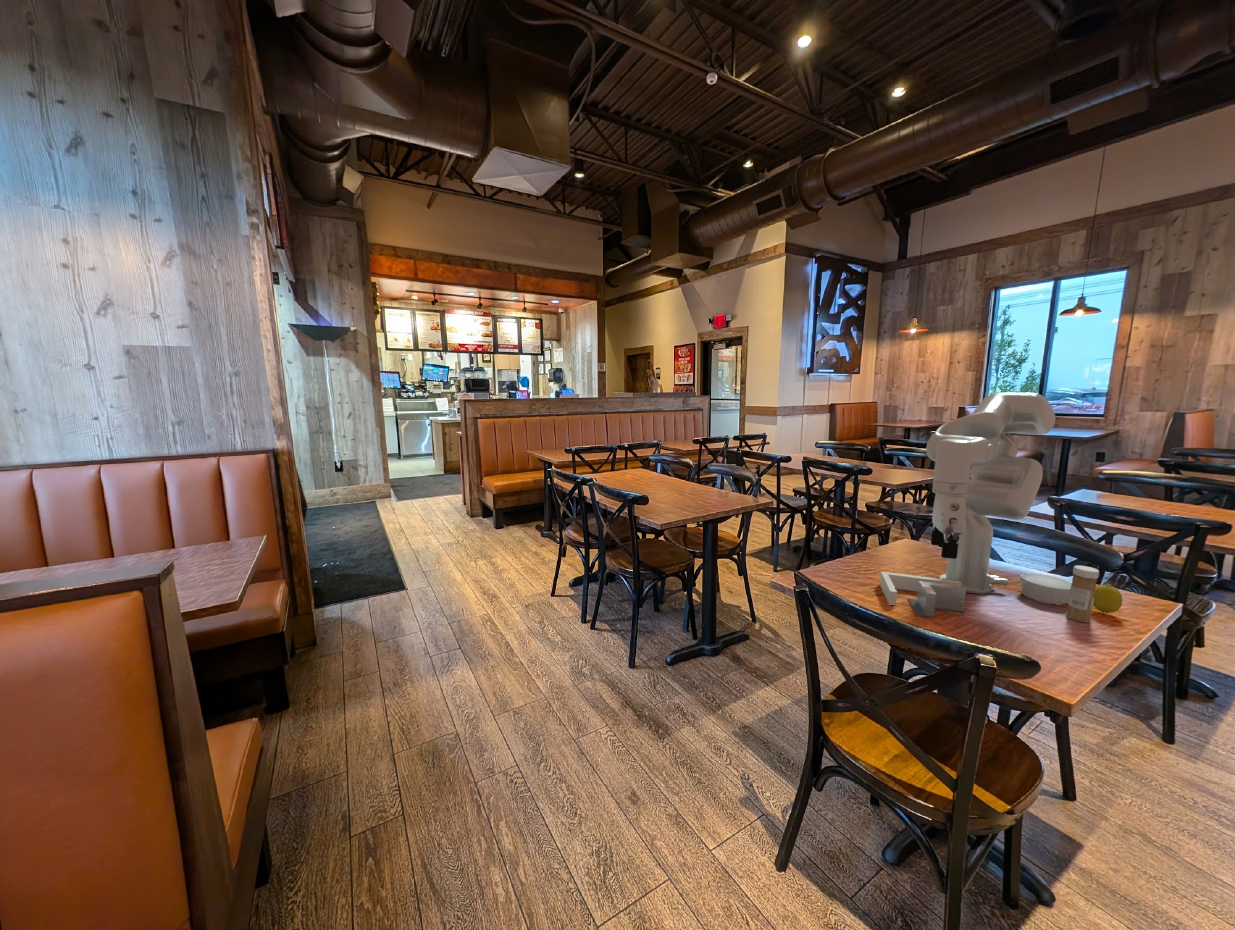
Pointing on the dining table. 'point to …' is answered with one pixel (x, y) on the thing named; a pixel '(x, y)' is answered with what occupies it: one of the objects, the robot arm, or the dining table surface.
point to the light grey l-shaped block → (906, 584)
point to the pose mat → (920, 613)
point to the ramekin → (1045, 588)
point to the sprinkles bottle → (1082, 593)
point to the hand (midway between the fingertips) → (943, 551)
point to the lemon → (1107, 598)
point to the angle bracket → (940, 597)
